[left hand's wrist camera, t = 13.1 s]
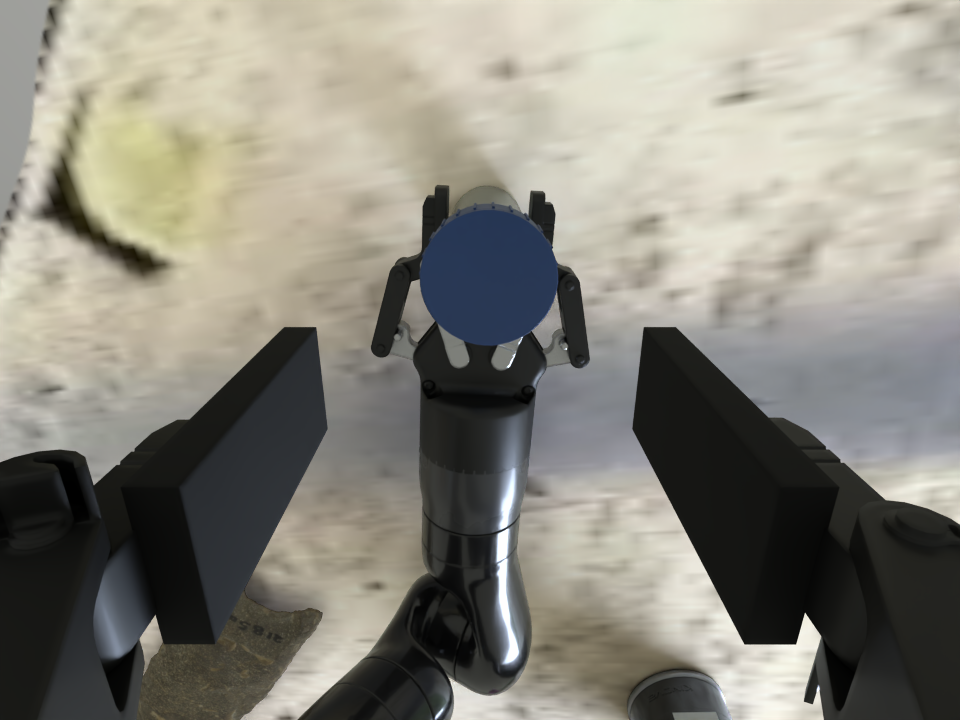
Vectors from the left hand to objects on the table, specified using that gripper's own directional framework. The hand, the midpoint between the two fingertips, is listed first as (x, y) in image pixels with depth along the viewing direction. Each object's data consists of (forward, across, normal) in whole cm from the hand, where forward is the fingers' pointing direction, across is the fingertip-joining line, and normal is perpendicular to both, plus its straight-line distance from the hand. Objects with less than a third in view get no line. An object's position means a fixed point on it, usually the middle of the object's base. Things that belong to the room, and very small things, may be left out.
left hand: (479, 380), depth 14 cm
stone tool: (+27, +25, +41) cm, 55 cm away
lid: (+10, 0, 0) cm, 11 cm away
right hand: (+21, -1, -3) cm, 21 cm away
